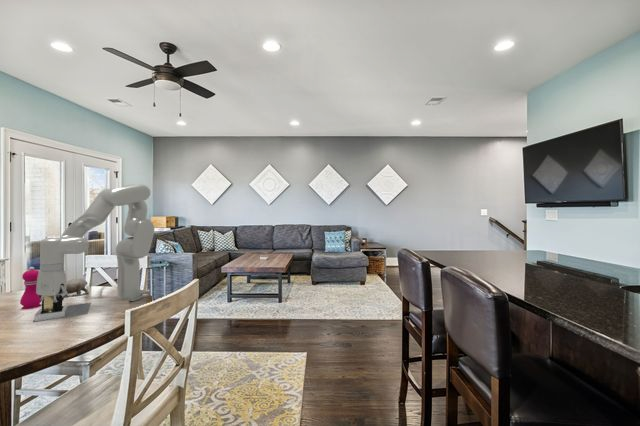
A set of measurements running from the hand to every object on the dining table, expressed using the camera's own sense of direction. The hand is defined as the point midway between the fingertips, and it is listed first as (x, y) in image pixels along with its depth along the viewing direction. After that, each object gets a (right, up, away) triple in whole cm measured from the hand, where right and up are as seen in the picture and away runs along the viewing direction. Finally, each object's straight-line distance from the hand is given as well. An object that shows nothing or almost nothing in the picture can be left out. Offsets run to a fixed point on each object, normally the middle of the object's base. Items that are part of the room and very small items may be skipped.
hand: (52, 309), depth 119 cm
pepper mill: (-20, -4, +11) cm, 23 cm away
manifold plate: (+1, -4, +5) cm, 7 cm away
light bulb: (0, -1, 0) cm, 1 cm away
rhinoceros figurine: (-21, -4, +30) cm, 37 cm away
